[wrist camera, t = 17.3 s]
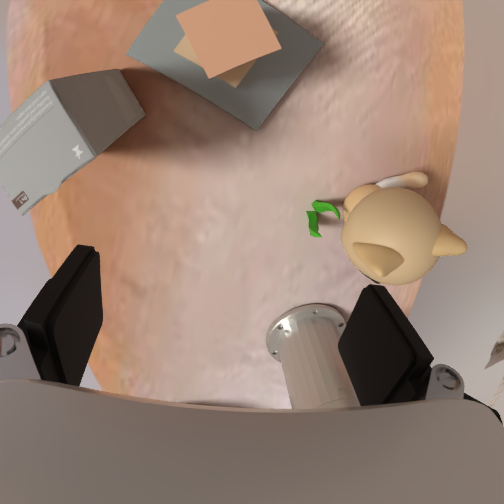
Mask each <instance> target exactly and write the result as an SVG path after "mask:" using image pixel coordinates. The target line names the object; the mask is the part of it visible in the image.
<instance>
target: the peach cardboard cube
mask: <svg viewBox="0 0 504 504" xmlns="http://www.w3.org/2000/svg"><path fill="white" fill-rule="evenodd" d="M176 18H177V19H178V21H179V23H180V25H181V27H182V29H183V30H184V32H185V34H186V36H187V38H188V40H189V42H190V44H191V45H192V47H193V49H194V51H195V53H196V55H197V57H198V59H199V61H200V62H201V64H202V66H203V68H204V70H205V72H206V74H207V76H208V78H209V79H210V80H211V79H213V78H215V77H217V76H219V75H221V74H224V73H226V72H228V71H230V70H233V69H235V68H237V67H240V66H242V65H244V64H247V63H249V62H251V61H254V60H256V59H259V58H261V57H264V56H267V55H269V54H271V53H273V52H276V51H278V50H280V49H282V48H281V46H280V44H279V42H278V40H277V38H276V36H275V34H274V32H273V30H272V28H271V26H270V24H269V22H268V20H267V18H266V16H265V14H264V12H263V10H262V8H261V6H260V4H259V3H258V1H257V0H209V1H206V2H204V3H202V4H199V5H197V6H195V7H193V8H190V9H188V10H186V11H184V12H182V13H180V14H178V15H176Z"/></svg>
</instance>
